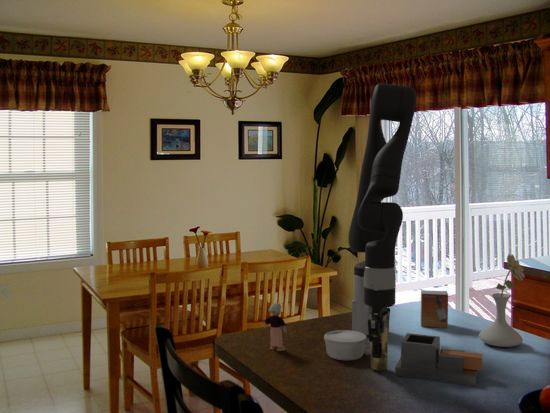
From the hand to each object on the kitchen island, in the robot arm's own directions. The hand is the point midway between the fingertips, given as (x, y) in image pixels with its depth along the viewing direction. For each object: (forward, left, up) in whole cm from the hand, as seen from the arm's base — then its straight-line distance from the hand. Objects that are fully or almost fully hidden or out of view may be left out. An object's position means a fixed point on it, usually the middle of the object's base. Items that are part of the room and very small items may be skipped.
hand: (379, 354), depth 137 cm
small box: (+7, +45, -4) cm, 46 cm away
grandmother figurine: (-30, +6, -4) cm, 31 cm away
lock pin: (+19, +4, -2) cm, 19 cm away
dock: (+13, +4, -4) cm, 14 cm away
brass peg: (0, 0, -3) cm, 3 cm away
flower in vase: (+27, +33, -4) cm, 43 cm away
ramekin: (-11, +8, -4) cm, 14 cm away
